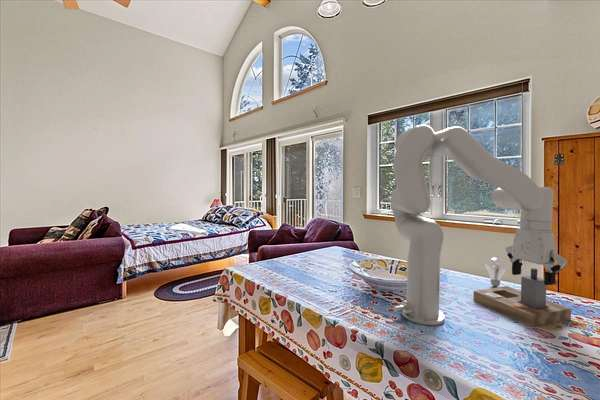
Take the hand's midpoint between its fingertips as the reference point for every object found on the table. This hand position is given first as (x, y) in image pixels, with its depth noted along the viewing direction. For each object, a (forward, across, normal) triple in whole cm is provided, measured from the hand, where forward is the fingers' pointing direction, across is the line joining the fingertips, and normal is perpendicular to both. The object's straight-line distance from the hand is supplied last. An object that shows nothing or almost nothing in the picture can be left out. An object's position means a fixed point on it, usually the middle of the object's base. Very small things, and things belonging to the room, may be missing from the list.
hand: (531, 279), depth 88 cm
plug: (+12, 0, +1) cm, 12 cm away
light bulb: (+12, -22, +13) cm, 28 cm away
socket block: (+12, -4, +1) cm, 12 cm away
